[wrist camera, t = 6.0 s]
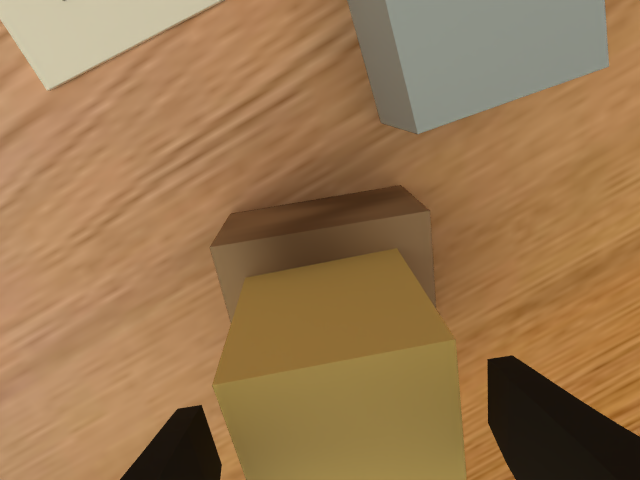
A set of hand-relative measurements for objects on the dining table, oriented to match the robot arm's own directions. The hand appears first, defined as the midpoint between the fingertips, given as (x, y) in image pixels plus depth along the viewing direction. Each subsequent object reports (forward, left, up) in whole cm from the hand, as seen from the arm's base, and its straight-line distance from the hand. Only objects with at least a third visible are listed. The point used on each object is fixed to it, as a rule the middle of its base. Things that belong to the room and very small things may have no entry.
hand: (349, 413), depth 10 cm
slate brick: (-5, -9, -8) cm, 13 cm away
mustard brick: (0, 0, -4) cm, 4 cm away
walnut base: (0, 0, -8) cm, 8 cm away
